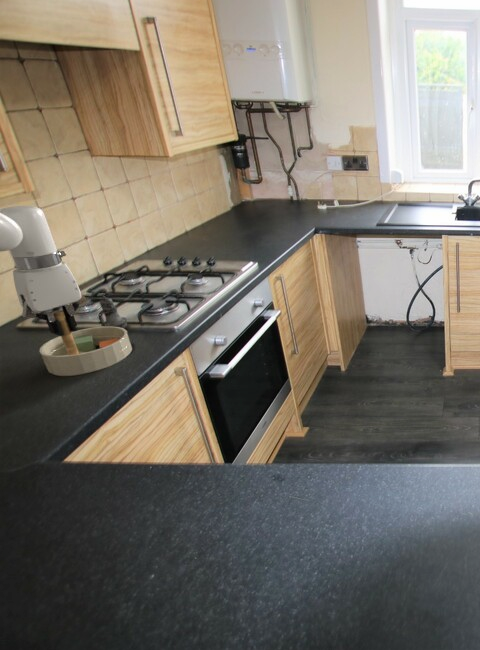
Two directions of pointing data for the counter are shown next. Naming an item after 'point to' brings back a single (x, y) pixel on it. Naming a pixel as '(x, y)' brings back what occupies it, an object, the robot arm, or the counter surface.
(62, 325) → the muddler
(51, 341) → the bowl
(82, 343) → the block green
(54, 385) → the counter surface
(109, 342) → the block orange
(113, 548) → the counter surface
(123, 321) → the dark grey figurine
